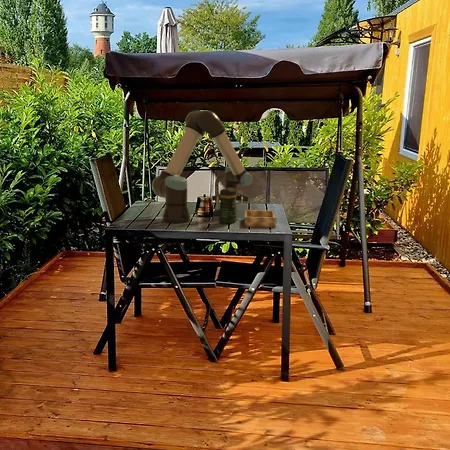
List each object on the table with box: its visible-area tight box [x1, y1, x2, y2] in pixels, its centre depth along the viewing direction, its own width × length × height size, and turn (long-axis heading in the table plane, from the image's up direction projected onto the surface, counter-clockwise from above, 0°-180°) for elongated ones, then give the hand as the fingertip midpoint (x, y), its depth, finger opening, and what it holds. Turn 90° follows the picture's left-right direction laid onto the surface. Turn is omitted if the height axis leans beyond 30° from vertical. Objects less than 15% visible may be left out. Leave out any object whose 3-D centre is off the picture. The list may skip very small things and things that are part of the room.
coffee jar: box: [218, 187, 238, 225], centre depth 249 cm, size 10×8×19 cm
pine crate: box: [244, 209, 277, 228], centre depth 250 cm, size 16×20×5 cm
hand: (229, 200), depth 256 cm, fingers open, 13 cm apart
